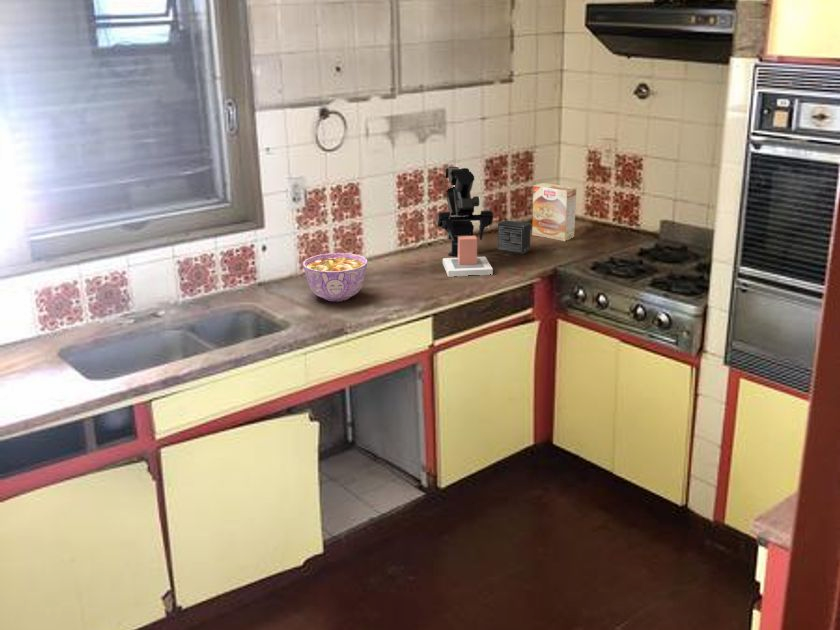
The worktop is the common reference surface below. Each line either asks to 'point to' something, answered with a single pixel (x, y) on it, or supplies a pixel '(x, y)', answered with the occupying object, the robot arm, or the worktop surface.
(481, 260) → the base plate
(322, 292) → the bowl of food
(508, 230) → the small box
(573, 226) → the coffeecake box
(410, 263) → the worktop surface
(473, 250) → the slim brick
